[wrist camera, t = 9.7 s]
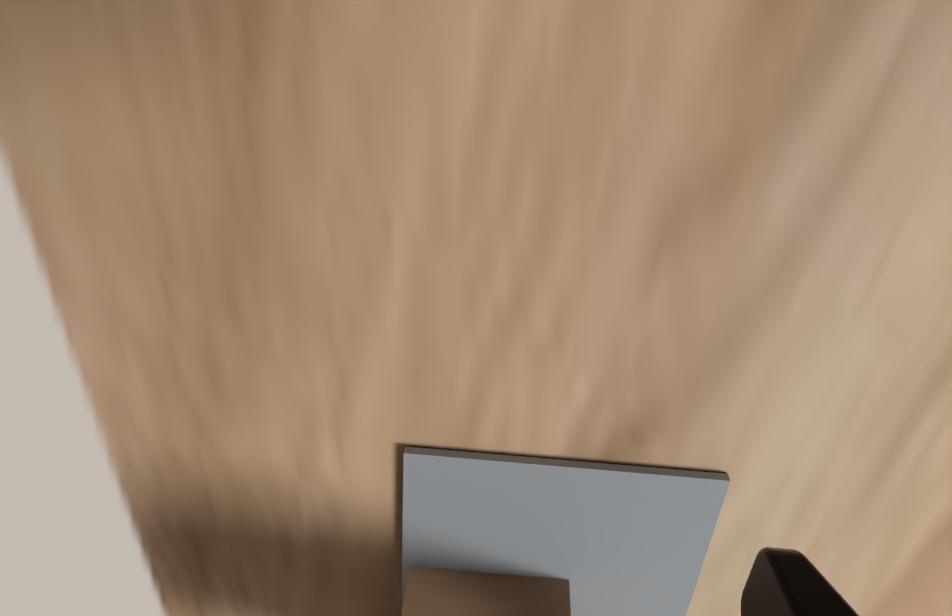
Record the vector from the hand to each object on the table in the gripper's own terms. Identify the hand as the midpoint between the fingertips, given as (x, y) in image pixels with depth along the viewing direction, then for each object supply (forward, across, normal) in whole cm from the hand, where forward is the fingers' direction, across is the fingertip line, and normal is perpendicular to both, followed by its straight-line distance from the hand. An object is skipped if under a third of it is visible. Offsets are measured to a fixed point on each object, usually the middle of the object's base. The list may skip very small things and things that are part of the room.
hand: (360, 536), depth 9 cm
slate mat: (+12, -4, +16) cm, 20 cm away
